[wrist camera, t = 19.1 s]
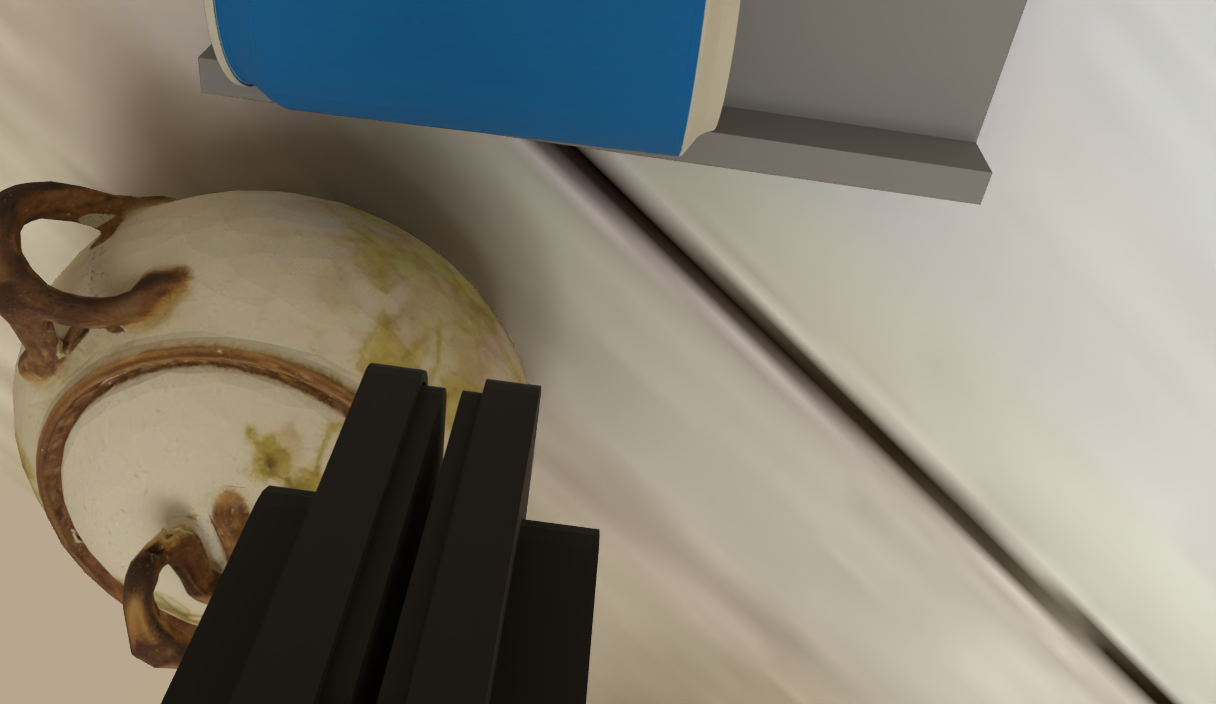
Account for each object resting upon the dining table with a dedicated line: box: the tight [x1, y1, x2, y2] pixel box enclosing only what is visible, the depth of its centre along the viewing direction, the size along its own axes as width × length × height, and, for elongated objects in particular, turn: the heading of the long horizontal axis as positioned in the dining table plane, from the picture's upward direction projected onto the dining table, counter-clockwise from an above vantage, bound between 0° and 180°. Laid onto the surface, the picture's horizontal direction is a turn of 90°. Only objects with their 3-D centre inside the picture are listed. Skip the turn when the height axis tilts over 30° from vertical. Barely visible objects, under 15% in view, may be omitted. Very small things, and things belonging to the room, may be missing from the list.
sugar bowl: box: [0, 181, 534, 669], centre depth 31 cm, size 20×15×15 cm
